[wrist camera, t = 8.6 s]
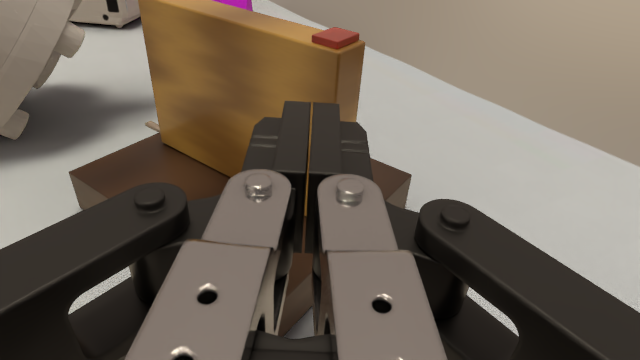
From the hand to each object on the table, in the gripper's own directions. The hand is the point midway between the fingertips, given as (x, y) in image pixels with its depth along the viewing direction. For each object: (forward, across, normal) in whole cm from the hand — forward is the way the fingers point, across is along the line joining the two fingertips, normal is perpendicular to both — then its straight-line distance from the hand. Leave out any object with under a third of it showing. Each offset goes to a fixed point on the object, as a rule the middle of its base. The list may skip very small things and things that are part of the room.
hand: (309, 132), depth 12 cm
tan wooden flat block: (+6, +3, +5) cm, 8 cm away
